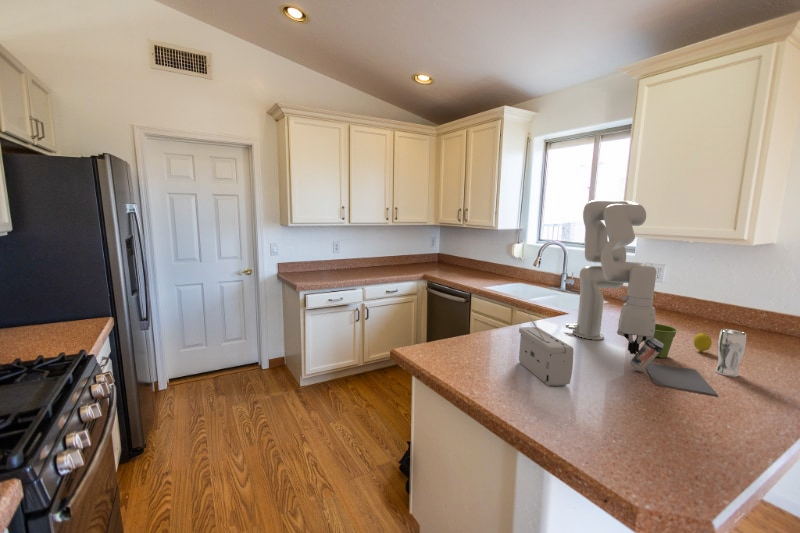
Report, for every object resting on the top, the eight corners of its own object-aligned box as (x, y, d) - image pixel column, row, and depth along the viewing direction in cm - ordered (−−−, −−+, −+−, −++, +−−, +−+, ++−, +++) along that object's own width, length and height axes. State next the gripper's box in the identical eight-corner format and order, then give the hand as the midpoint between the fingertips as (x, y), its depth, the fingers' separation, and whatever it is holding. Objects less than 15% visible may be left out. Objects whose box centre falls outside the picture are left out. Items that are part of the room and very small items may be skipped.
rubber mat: (654, 384, 116) (654, 383, 116) (642, 362, 134) (642, 361, 134) (717, 396, 109) (718, 394, 109) (695, 371, 127) (695, 369, 127)
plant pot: (676, 355, 142) (680, 327, 141) (672, 363, 134) (676, 334, 132) (640, 346, 150) (644, 320, 149) (634, 354, 142) (638, 326, 140)
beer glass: (733, 370, 128) (740, 330, 126) (744, 379, 122) (752, 336, 120) (709, 367, 131) (716, 327, 128) (719, 375, 124) (726, 333, 122)
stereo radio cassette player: (571, 387, 112) (578, 325, 109) (547, 389, 111) (553, 325, 108) (535, 360, 133) (540, 307, 130) (515, 361, 131) (519, 308, 128)
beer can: (625, 361, 128) (647, 334, 124) (636, 365, 129) (658, 339, 125) (634, 369, 123) (657, 342, 119) (645, 374, 124) (668, 347, 120)
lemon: (713, 355, 143) (716, 335, 142) (697, 353, 144) (700, 334, 143) (704, 350, 149) (707, 331, 148) (689, 348, 150) (692, 330, 149)
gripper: (615, 301, 123) (609, 352, 125) (668, 306, 117) (661, 361, 119) (612, 296, 130) (607, 346, 132) (662, 302, 123) (656, 353, 126)
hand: (632, 353), depth 126 cm, fingers closed
